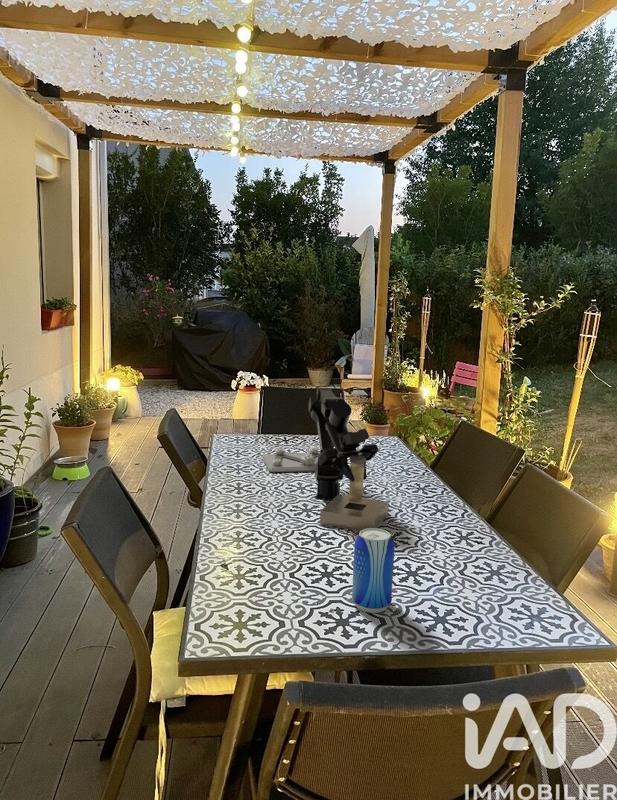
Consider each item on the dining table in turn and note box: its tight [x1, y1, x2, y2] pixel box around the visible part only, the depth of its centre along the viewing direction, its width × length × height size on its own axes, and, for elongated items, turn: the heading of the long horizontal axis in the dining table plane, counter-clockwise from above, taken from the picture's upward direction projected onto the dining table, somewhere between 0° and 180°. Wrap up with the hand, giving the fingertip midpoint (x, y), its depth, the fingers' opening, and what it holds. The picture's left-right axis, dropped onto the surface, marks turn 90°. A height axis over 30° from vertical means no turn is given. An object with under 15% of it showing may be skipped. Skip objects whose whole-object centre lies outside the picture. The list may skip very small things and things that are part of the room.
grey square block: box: [319, 494, 389, 532], centre depth 185 cm, size 16×16×4 cm
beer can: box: [351, 528, 395, 614], centre depth 133 cm, size 8×8×16 cm
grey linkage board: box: [261, 445, 321, 474], centre depth 242 cm, size 30×22×7 cm
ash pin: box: [348, 455, 367, 503], centre depth 183 cm, size 5×5×13 cm
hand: (359, 480), depth 182 cm, fingers closed on ash pin, 4 cm apart
